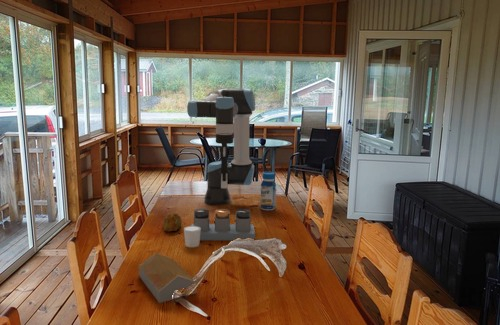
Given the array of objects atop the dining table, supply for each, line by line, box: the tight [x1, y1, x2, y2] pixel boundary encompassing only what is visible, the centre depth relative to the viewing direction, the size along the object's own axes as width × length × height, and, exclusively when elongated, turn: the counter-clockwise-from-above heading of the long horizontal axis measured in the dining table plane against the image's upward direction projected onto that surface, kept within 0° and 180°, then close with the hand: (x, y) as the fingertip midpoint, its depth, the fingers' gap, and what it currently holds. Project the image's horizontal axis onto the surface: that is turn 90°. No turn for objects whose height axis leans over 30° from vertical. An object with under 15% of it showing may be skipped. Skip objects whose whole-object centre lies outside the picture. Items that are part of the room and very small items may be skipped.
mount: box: [190, 216, 256, 241], centre depth 170 cm, size 12×28×8 cm, turn 93°
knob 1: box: [193, 208, 210, 218], centre depth 169 cm, size 6×6×7 cm
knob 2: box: [235, 208, 252, 219], centre depth 170 cm, size 6×6×7 cm
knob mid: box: [214, 208, 231, 219], centre depth 169 cm, size 6×6×7 cm
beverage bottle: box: [259, 171, 277, 211], centre depth 212 cm, size 8×8×20 cm
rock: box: [162, 212, 183, 233], centre depth 178 cm, size 11×8×10 cm
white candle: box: [183, 225, 201, 248], centre depth 159 cm, size 7×7×7 cm
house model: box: [137, 252, 197, 304], centre depth 125 cm, size 20×12×8 cm, turn 32°
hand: (224, 187), depth 169 cm, fingers closed
